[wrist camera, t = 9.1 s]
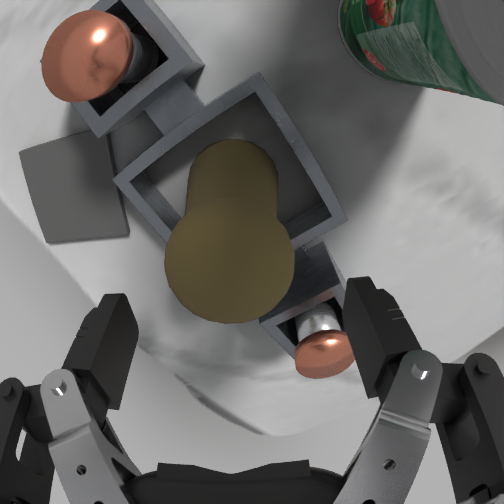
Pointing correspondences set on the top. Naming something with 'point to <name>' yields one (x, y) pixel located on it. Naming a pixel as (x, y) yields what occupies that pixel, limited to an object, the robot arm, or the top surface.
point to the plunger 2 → (321, 343)
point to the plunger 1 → (94, 56)
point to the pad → (75, 188)
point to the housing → (189, 120)
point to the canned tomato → (429, 43)
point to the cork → (230, 237)
